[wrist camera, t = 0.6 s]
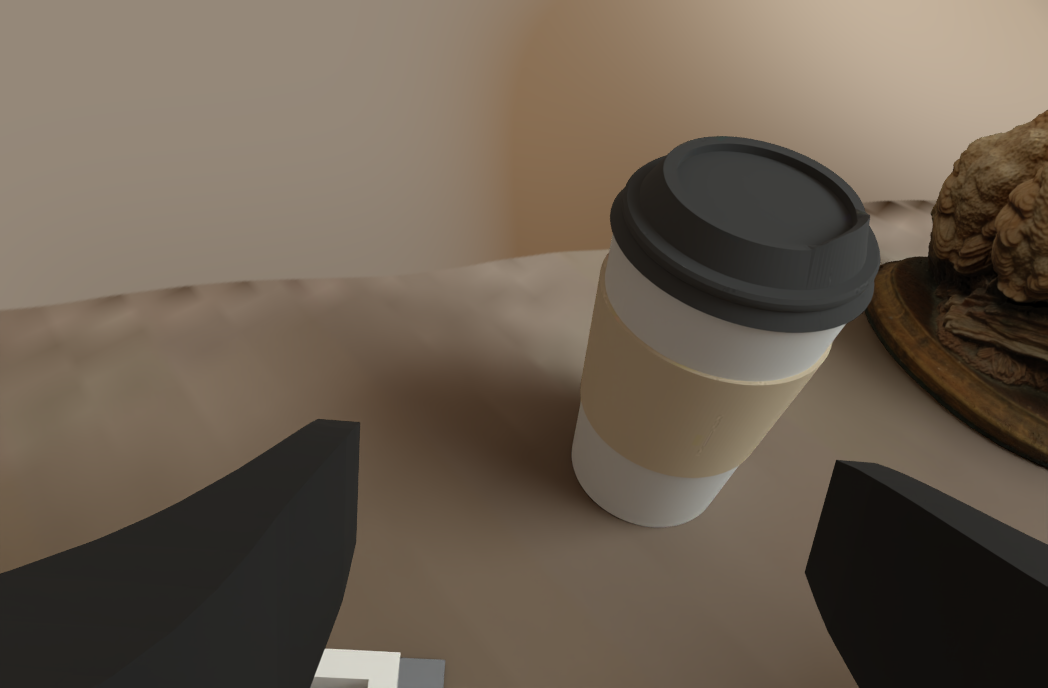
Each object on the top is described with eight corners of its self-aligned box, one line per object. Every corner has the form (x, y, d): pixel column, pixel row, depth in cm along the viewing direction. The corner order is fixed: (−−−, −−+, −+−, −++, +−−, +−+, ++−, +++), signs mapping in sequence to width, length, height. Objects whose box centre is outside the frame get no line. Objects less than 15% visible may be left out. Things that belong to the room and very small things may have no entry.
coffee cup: (506, 447, 33) (569, 146, 22) (632, 362, 38) (731, 88, 27) (660, 593, 29) (825, 309, 18) (778, 476, 34) (958, 204, 23)
